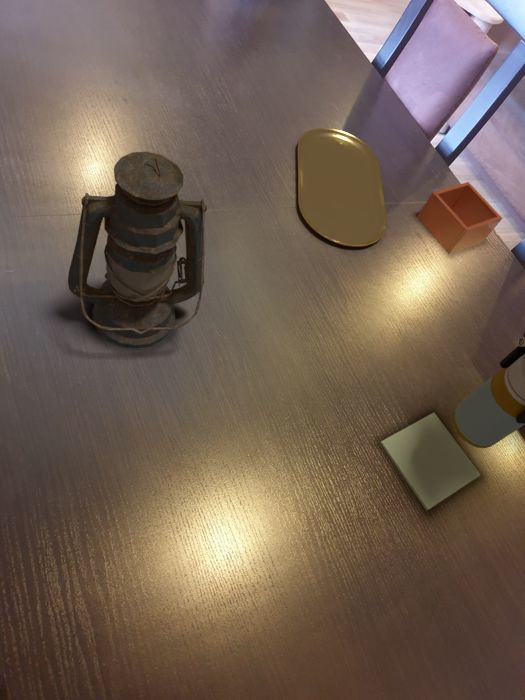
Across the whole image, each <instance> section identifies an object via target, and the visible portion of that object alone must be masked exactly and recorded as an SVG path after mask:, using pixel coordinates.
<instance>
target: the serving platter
mask: <svg viewBox="0 0 525 700" xmlns="http://www.w3.org/2000/svg"><path fill="white" fill-rule="evenodd" d="M297 184H298V185H297V190H298V191H297V192H298V207H299V211H300V214H301V215H302V218H303V219H304V221H305V222H306V224H307V225H308V226H309V227H310V228H311V229H312V230H313V231H314V232H315V233H317V235H319V236H320V237H322V238H324V239H325V240H327V241H329V242H332V243H334V244H336V245H340V246H344V247H350V248H359V247H361V248H362V247H367V246H369V245H372V244H375V243H377V242H378V241H379V240H381V238H383V236H384V235H385V233H386V231H387V227H388V217H387V209H386V202H385V195H384V187H383V179H382V172H381V165H380V161H379V158H378V157H377V155H376V153H375V151H373V149H372V148H371V147H370V146H369V145H368V144H367V143H365V142H364V141H363V140H362V139H360V138H359V137H357V136H355V135H353V134H351V133H349V132H347V131H344V130H340V129H337V128H332V127H331V128H330V127H318V128H313V129H310V130H308V131H306V132H305V133H304V134H302V135H301V136H300V138H299V140H298V143H297Z"/></svg>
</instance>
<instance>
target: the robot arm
mask: <svg viewBox="0 0 525 700" xmlns="http://www.w3.org/2000/svg"><path fill="white" fill-rule="evenodd" d="M523 332H524V333H523V336H521V337H519V339H518V341H517V347H515V348H514V349H513V350H512V351H510V352H509V353H508V355H506V356H505V357H504V358H503V359H502V360H501V361H499V366H500V368H501V369H504V368H508V367H509V366H511V365H512V364H513V363H514V362H515V361H516V360H518V359H519V358H520V357H521V356H523V355H524V354H525V331H523ZM516 421H517V423H522V424H525V411H524V412H522V413H521V414H519V415H518V416H517V418H516Z"/></svg>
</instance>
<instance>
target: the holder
mask: <svg viewBox="0 0 525 700" xmlns="http://www.w3.org/2000/svg"><path fill="white" fill-rule="evenodd" d="M416 218H417V219H418V220H419V222H420V223H421V224H422V225H423V226H424V227H425V229H427V230H428V232H429V233H430V234H431V235H432V237H433V238H434V239H435V240H436V241H437V242H438V244H439V245H440V246H441V247H442V248H443V249H444V251H445V252H446V253H447V254H448V255H451V254H454V253H457V252H459V251H461V250H464V249H467V248H470V247H474V246H475V245H478V244H480V243H483V242H484V241H485V240H486V239H487V238H488V237H489V235H490V234H491V233H492V232H493V231H494V230H495V229H496V227H497V226H498V225H499V224H500V222H501V221H502V220H503V217H502V216H501V215H500V214H499V212H498V211H496V210H495V209H494V207H493V206H492V205H491V204H490V203H489V202H488V201H487V200H486V199H485V198H484V197H483V195H482V194H480V193H479V192H478V190H477V189H476V188H475V187H474V186H473V185H472V184H471V183H470V181H466V182H463V183H460V184H456V185H453V186H449V187H445V188H443V189H439V190H436V191H432V192H431V194H430V195H429V197H428V199H427V200H426V202H425V203H424V205H423V206H422V208H421V209H420V212H418V214H417V215H416Z"/></svg>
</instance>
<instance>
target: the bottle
mask: <svg viewBox="0 0 525 700" xmlns="http://www.w3.org/2000/svg"><path fill="white" fill-rule="evenodd" d="M524 411H525V354H524V355H523V356H521V357H520V358H519V359H518V360H516V361H515V362H514V363H513V364H512V365H511V366H509V367H508V368H501V369H500V370H498V371H497V372H495V373H493V375H492V376H490V377H489V378H488V379H487V380H486V381H484V382H483V383H482V384H481V385H480V386H479V387H477V388H476V389H475V390H474V391H473V392H472V393H470V394H469V395H468V396H466V397H465V398H464V399H463V400H462V401H461V402H459V403H458V404H457V405H456V406H455V407H454V410H453V412H452V423H453V427H454V430H455V431H456V433H457V435H458V436H459V437H460V438H461V440H463V441H464V442H465V443H467V444H468V445H470V446H472V447H475V448H478V449H488V448H491V447H493V446H494V445H496V444H497V443H499V442H500V441H502V440H504V439H505V438H506V437H508V436H510V435H511V434H513V433H515V432H516V431H518V430H519V429H520V428H522V427H524V426H525V424H522V423H517V421H516V418H517V416H518V415H519V414H521V413H522V412H524Z"/></svg>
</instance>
